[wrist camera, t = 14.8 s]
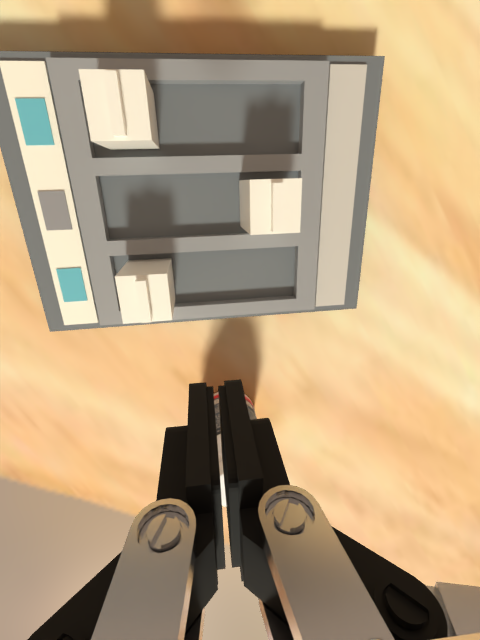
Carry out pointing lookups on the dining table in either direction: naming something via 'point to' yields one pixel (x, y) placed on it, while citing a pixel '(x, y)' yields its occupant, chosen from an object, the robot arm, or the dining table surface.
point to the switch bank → (192, 181)
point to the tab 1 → (120, 108)
